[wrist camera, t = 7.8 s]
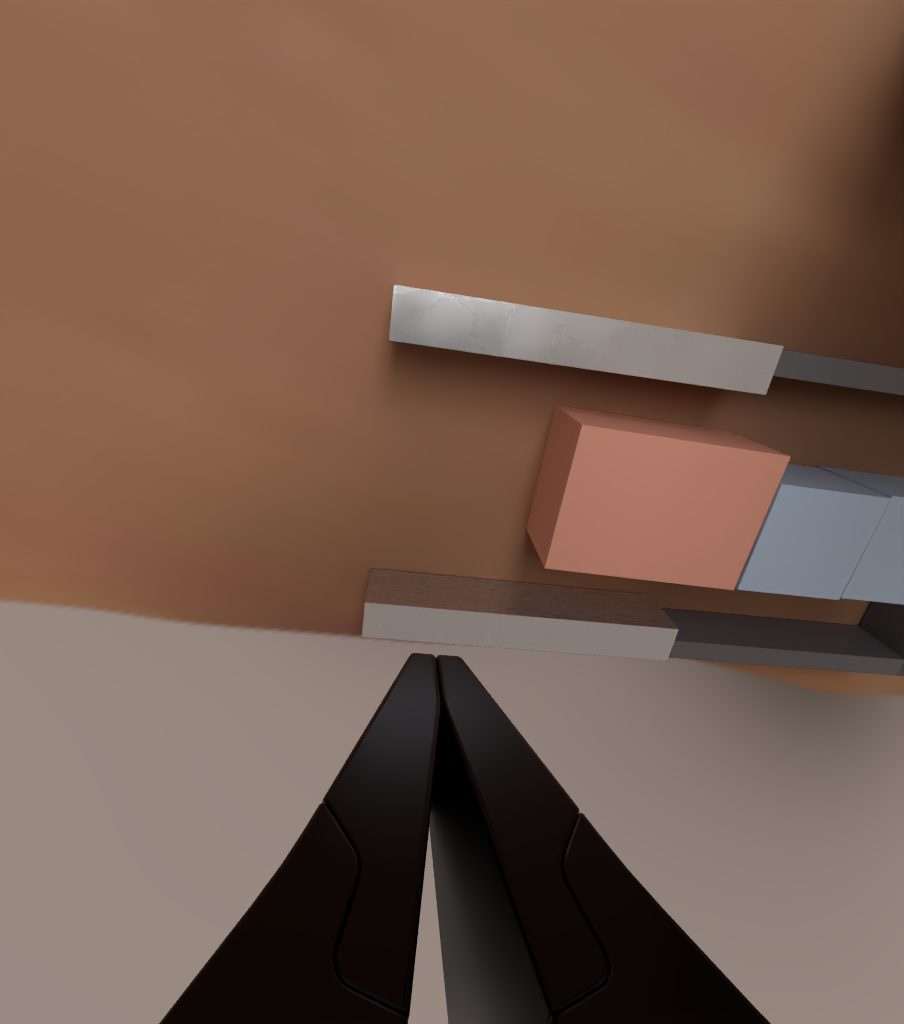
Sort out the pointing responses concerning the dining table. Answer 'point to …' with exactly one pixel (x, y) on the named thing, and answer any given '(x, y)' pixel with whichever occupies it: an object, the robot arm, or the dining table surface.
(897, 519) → the blue-grey cube
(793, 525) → the blue cube
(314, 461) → the dining table surface
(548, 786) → the robot arm
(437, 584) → the slot rails
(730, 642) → the chip tray
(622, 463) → the block
